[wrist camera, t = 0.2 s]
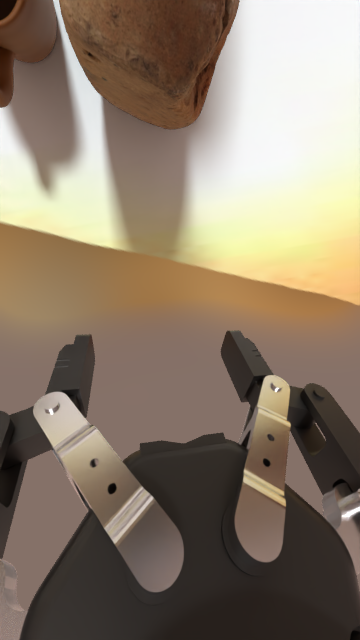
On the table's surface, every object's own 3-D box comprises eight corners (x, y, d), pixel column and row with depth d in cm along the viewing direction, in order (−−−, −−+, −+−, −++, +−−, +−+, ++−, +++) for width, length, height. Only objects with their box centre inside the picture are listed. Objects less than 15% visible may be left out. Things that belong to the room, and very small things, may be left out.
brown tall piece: (90, 93, 27) (38, 22, 11) (104, 0, 23) (56, -304, 7) (173, 141, 31) (220, 137, 15) (197, 68, 27) (291, -36, 11)
